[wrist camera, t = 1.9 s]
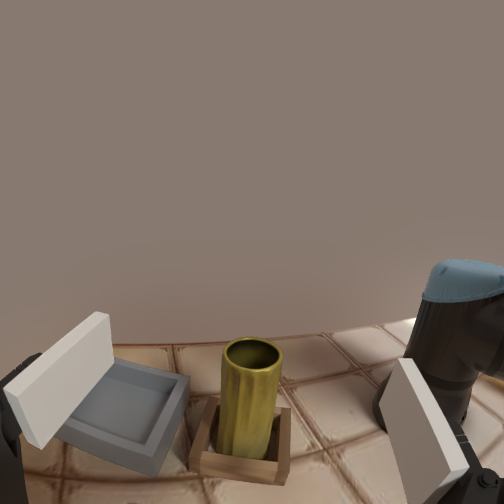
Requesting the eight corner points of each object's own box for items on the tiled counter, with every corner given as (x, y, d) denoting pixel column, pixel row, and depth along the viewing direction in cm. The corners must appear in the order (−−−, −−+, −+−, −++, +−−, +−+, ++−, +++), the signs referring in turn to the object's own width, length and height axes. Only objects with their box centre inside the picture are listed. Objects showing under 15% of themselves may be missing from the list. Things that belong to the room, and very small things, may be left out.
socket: (286, 424, 35) (290, 408, 34) (284, 485, 25) (289, 471, 24) (208, 412, 36) (209, 396, 35) (189, 471, 26) (188, 456, 25)
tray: (190, 398, 38) (190, 376, 37) (156, 477, 24) (152, 457, 23) (100, 373, 39) (96, 351, 38) (49, 434, 25) (39, 411, 24)
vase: (208, 459, 28) (207, 364, 24) (225, 423, 34) (230, 328, 30) (262, 472, 27) (282, 380, 23) (273, 434, 32) (292, 340, 28)
